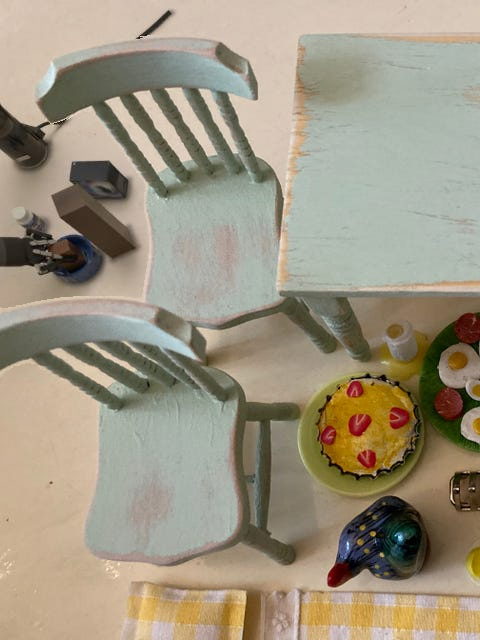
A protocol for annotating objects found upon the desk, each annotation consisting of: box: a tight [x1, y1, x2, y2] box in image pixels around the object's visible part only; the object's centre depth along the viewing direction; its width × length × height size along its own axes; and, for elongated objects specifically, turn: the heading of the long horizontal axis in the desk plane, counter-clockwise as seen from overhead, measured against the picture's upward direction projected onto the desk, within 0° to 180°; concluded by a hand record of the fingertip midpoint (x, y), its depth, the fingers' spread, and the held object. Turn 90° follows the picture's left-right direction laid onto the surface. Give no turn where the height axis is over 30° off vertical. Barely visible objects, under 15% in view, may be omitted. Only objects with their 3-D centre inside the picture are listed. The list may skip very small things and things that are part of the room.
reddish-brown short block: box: [46, 239, 88, 273], centre depth 185 cm, size 4×6×9 cm, turn 118°
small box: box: [68, 160, 129, 200], centre depth 192 cm, size 11×6×10 cm, turn 91°
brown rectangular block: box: [50, 183, 137, 259], centre depth 180 cm, size 7×7×24 cm
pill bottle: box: [10, 205, 47, 233], centre depth 190 cm, size 5×5×8 cm
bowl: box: [46, 233, 103, 284], centre depth 188 cm, size 13×13×4 cm
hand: (74, 251), depth 185 cm, fingers closed on reddish-brown short block, 3 cm apart
